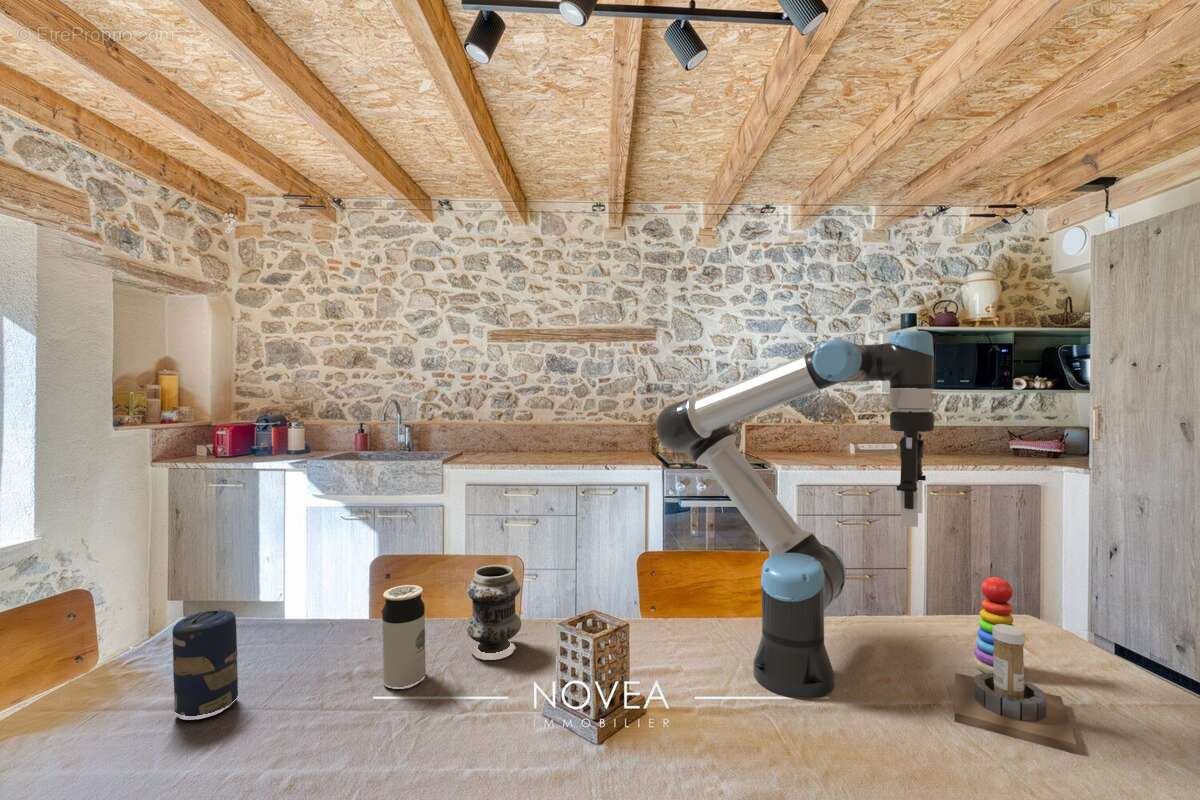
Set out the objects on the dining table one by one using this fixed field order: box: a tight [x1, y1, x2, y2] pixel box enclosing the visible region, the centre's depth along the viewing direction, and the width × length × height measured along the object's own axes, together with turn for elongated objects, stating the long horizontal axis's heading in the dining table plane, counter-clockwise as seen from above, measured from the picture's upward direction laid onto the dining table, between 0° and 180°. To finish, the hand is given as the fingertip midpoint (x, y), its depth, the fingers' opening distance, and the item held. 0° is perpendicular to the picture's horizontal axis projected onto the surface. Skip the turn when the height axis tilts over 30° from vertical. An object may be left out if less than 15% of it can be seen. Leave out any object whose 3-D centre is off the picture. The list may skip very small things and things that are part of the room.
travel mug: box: [381, 584, 427, 687], centre depth 110 cm, size 8×8×18 cm
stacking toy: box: [972, 576, 1015, 674], centre depth 111 cm, size 8×8×19 cm
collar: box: [973, 672, 1046, 722], centre depth 97 cm, size 10×10×3 cm
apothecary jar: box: [465, 564, 522, 653], centre depth 122 cm, size 12×12×18 cm
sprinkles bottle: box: [992, 624, 1026, 699], centre depth 97 cm, size 5×5×13 cm
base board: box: [954, 672, 1078, 755], centre depth 97 cm, size 16×16×2 cm
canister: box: [172, 609, 239, 716], centre depth 100 cm, size 10×10×18 cm
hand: (912, 519), depth 108 cm, fingers open, 13 cm apart
